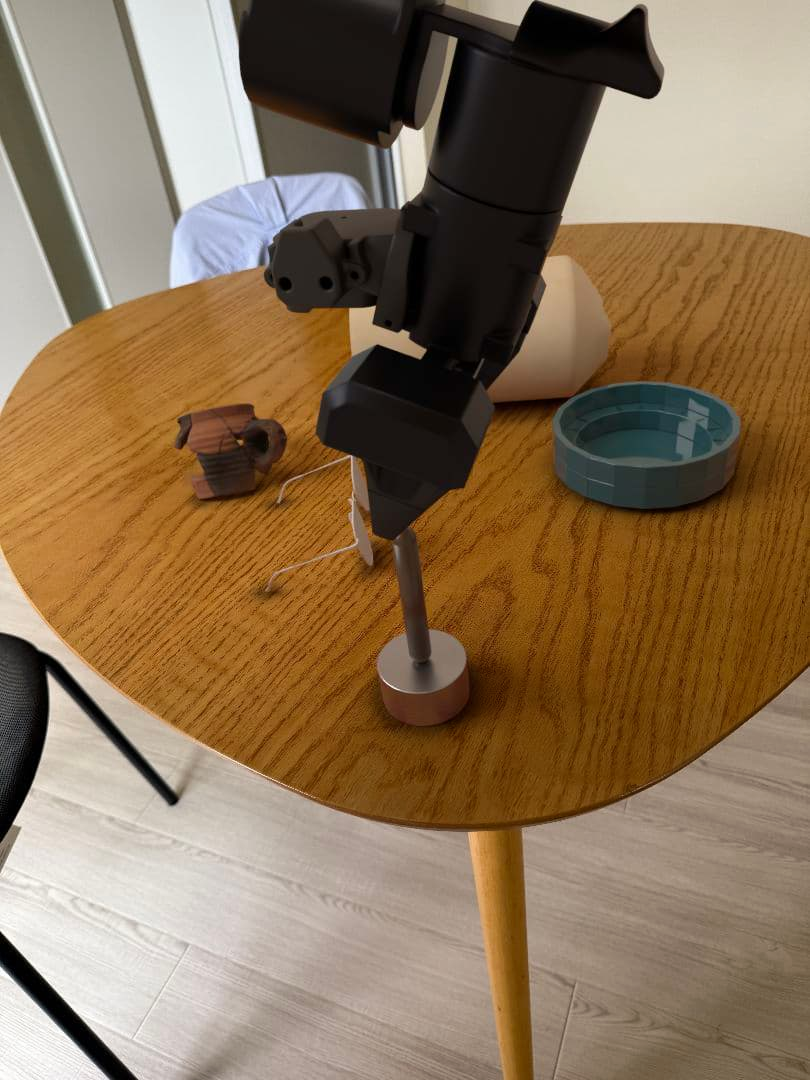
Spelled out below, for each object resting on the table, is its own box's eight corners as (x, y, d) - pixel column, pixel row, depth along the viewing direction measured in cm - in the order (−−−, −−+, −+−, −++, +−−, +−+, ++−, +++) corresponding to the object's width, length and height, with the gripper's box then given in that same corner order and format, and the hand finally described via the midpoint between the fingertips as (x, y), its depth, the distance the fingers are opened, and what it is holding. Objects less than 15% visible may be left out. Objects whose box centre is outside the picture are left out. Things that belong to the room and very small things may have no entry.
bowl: (772, 466, 66) (781, 419, 64) (645, 537, 61) (649, 489, 58) (637, 409, 77) (640, 367, 75) (518, 465, 71) (517, 421, 69)
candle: (358, 254, 82) (601, 230, 79) (376, 372, 91) (596, 354, 88) (341, 310, 72) (620, 285, 68) (364, 436, 80) (612, 420, 77)
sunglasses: (374, 582, 60) (354, 531, 57) (271, 609, 61) (246, 561, 58) (369, 487, 71) (352, 441, 68) (282, 511, 72) (262, 467, 69)
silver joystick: (487, 697, 49) (474, 530, 42) (414, 741, 47) (386, 574, 40) (436, 649, 53) (416, 489, 46) (367, 688, 51) (333, 526, 44)
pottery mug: (167, 508, 73) (146, 421, 73) (227, 496, 82) (209, 419, 81) (273, 485, 68) (252, 392, 68) (325, 475, 77) (307, 392, 76)
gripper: (380, 88, 39) (330, 361, 49) (202, 177, 25) (184, 535, 35) (592, 158, 38) (497, 421, 48) (532, 291, 24) (416, 624, 34)
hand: (409, 485), depth 41 cm, fingers open, 9 cm apart
